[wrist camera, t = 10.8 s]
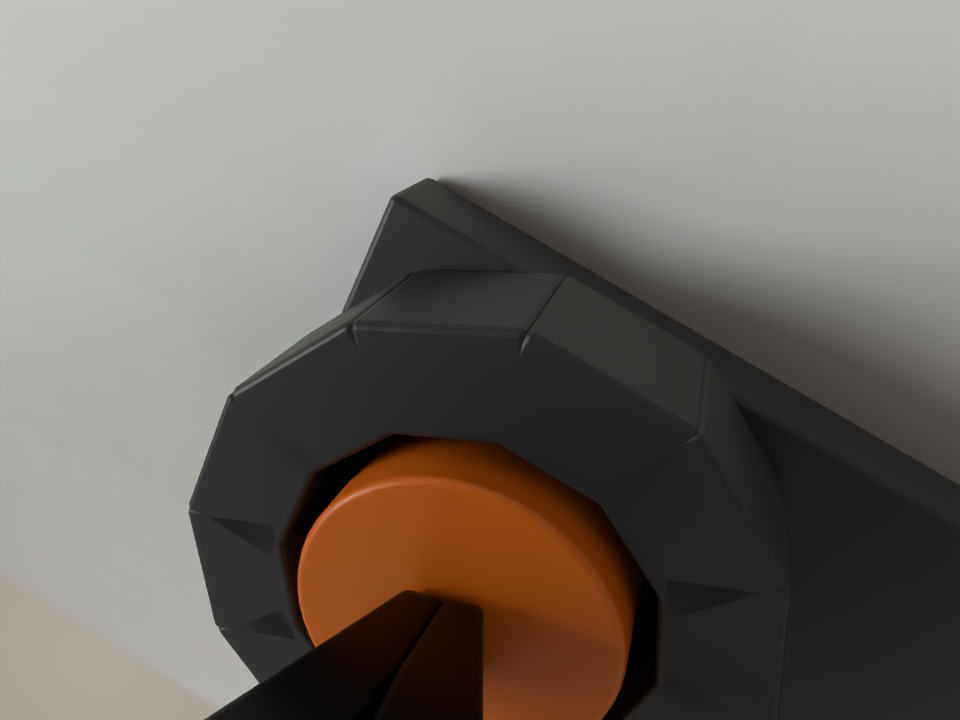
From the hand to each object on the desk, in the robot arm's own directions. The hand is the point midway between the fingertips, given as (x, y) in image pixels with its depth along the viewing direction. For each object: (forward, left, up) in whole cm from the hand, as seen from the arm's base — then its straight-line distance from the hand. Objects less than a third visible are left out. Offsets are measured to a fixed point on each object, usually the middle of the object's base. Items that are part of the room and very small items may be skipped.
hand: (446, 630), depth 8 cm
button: (0, 0, -2) cm, 2 cm away
